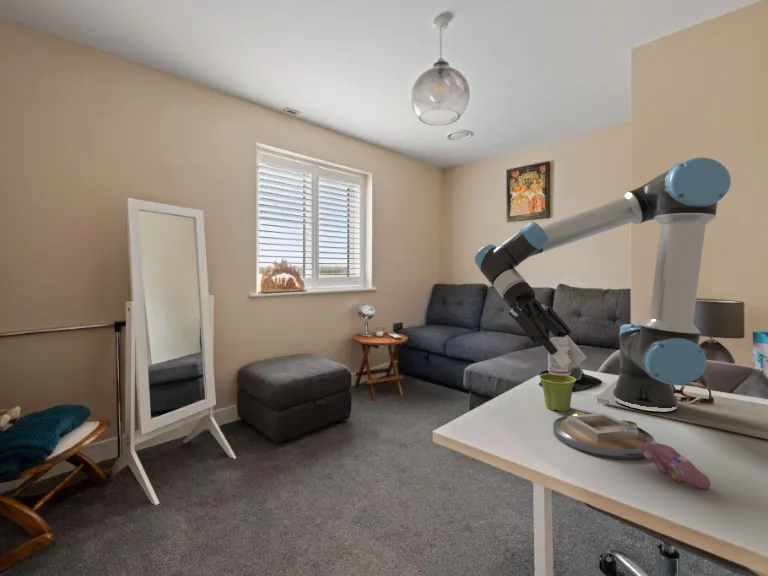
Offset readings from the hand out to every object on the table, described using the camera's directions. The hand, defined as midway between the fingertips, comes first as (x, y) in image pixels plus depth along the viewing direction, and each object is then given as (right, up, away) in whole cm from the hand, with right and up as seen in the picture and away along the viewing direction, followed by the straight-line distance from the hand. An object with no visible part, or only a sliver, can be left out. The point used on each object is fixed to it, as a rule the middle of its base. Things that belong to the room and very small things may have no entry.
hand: (574, 362), depth 82 cm
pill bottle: (-2, -3, +3) cm, 5 cm away
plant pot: (+6, -17, +20) cm, 27 cm away
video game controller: (+10, -18, -15) cm, 26 cm away
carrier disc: (+7, -18, +1) cm, 19 cm away
